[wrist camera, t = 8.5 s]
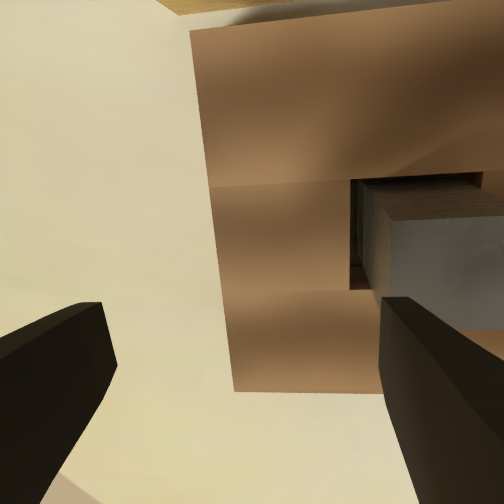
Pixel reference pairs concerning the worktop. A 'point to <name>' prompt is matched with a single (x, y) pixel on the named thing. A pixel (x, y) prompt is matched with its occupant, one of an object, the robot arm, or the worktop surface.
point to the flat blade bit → (213, 5)
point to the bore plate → (334, 169)
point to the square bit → (434, 246)
